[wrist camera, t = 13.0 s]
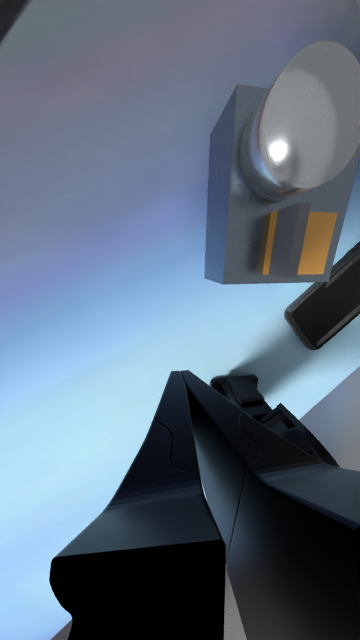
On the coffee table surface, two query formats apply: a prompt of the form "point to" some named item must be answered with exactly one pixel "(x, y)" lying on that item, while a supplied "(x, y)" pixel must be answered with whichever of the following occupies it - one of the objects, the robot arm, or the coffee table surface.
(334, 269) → the phone
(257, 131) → the grey rounded piece
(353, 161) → the hitch block
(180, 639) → the robot arm
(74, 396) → the coffee table surface
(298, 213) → the grey orange block
